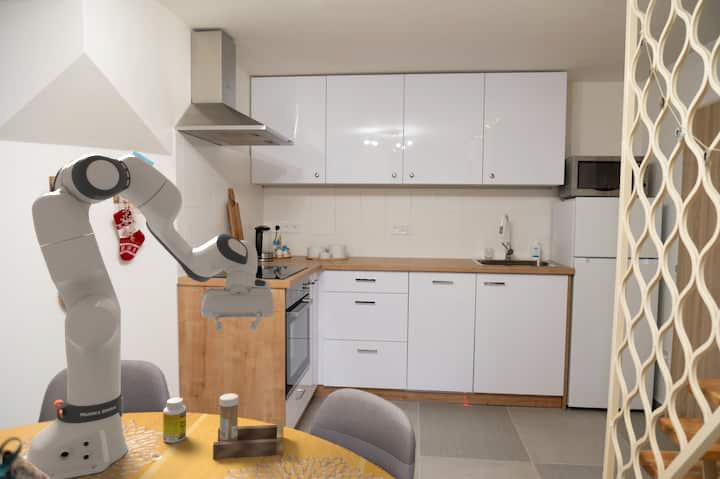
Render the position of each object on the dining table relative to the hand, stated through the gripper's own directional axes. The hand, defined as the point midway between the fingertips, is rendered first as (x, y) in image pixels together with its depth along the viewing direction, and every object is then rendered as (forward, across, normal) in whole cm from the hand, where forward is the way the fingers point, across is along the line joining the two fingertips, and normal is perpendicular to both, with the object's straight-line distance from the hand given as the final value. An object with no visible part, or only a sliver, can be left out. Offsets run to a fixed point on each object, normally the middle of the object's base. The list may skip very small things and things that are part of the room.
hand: (236, 329), depth 126 cm
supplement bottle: (+24, -15, +15) cm, 32 cm away
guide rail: (+28, +5, +10) cm, 30 cm away
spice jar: (+28, 0, +10) cm, 30 cm away
